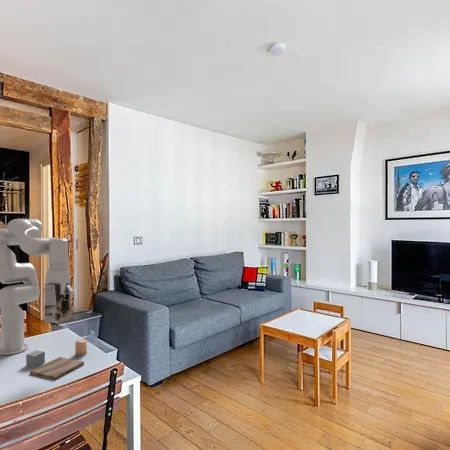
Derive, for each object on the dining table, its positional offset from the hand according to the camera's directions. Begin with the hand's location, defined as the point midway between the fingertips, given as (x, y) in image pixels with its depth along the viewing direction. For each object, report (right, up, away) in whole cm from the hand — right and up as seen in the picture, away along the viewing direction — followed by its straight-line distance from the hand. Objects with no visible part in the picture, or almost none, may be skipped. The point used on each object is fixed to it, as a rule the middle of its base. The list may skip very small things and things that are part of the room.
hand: (58, 308), depth 137 cm
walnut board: (0, -26, 0) cm, 26 cm away
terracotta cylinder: (+3, -26, +16) cm, 30 cm away
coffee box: (0, -5, 0) cm, 5 cm away
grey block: (-12, -26, +4) cm, 29 cm away
